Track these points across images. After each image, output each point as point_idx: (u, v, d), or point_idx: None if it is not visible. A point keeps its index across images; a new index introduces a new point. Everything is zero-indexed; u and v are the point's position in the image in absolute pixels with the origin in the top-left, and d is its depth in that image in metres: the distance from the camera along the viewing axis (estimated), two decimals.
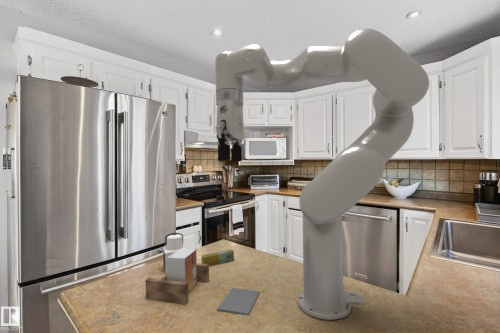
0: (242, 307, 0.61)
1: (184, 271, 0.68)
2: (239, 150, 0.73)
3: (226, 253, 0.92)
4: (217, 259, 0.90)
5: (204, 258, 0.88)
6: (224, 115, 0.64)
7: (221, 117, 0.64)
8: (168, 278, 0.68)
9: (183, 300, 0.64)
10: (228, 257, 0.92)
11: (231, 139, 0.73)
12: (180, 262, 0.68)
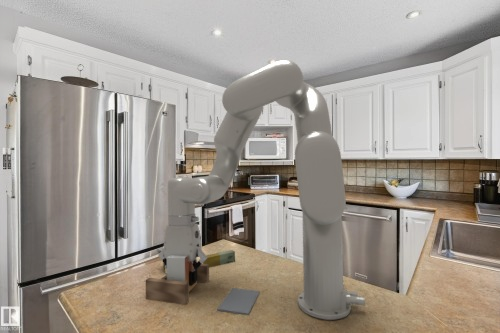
0: (242, 307, 0.61)
1: (184, 271, 0.68)
2: None
3: (227, 254, 0.91)
4: (218, 260, 0.89)
5: None
6: (198, 239, 0.71)
7: (196, 242, 0.70)
8: (168, 278, 0.68)
9: (183, 300, 0.64)
10: (229, 258, 0.91)
11: None
12: (180, 262, 0.68)
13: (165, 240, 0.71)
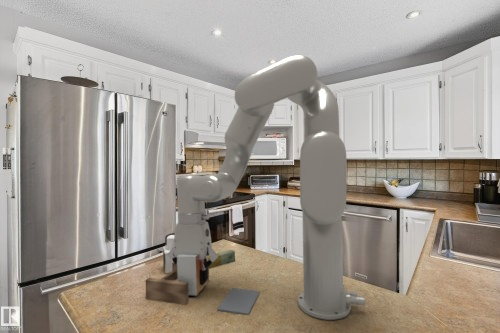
0: (242, 307, 0.61)
1: (195, 270, 0.67)
2: None
3: (227, 254, 0.91)
4: (219, 260, 0.89)
5: None
6: (208, 238, 0.70)
7: (207, 240, 0.69)
8: (179, 277, 0.67)
9: (183, 300, 0.64)
10: (229, 258, 0.91)
11: None
12: (191, 261, 0.67)
13: (175, 239, 0.70)
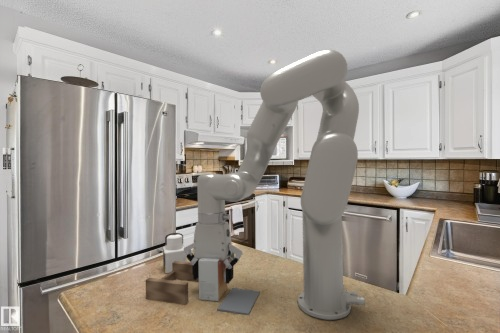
0: (242, 307, 0.61)
1: (217, 275, 0.65)
2: None
3: None
4: None
5: None
6: (229, 238, 0.68)
7: (228, 241, 0.67)
8: (200, 282, 0.66)
9: (183, 300, 0.64)
10: None
11: None
12: (213, 265, 0.65)
13: (195, 239, 0.68)
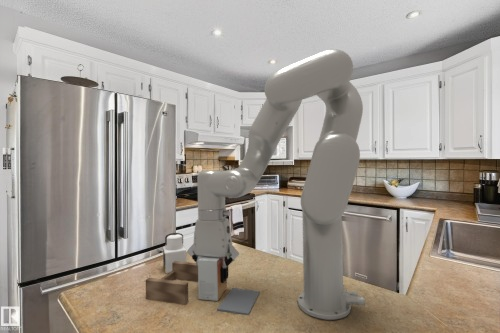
0: (242, 307, 0.61)
1: (216, 274, 0.65)
2: None
3: (228, 253, 0.92)
4: None
5: None
6: (229, 235, 0.68)
7: (228, 237, 0.67)
8: (199, 281, 0.66)
9: (183, 300, 0.64)
10: None
11: None
12: (212, 265, 0.65)
13: (195, 235, 0.68)
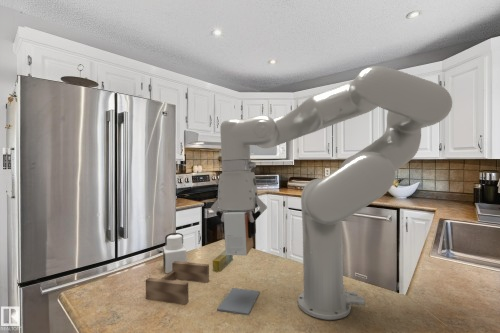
0: (242, 307, 0.61)
1: (244, 227, 0.61)
2: None
3: None
4: (225, 260, 0.88)
5: (219, 262, 0.84)
6: (255, 187, 0.64)
7: (255, 190, 0.63)
8: (226, 236, 0.62)
9: (183, 300, 0.64)
10: (230, 256, 0.93)
11: None
12: (239, 218, 0.61)
13: (220, 189, 0.64)
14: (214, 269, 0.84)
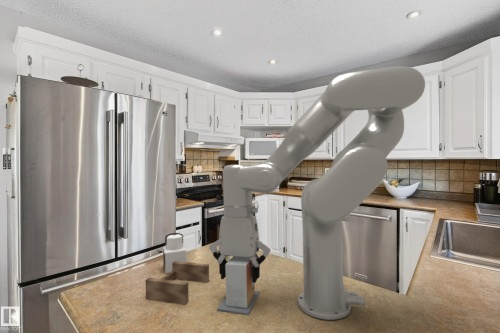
0: None
1: (245, 280, 0.61)
2: None
3: None
4: None
5: (227, 261, 0.84)
6: (257, 233, 0.64)
7: (256, 236, 0.63)
8: (227, 287, 0.62)
9: (183, 300, 0.64)
10: (229, 256, 0.93)
11: None
12: (241, 270, 0.61)
13: (221, 234, 0.64)
14: None
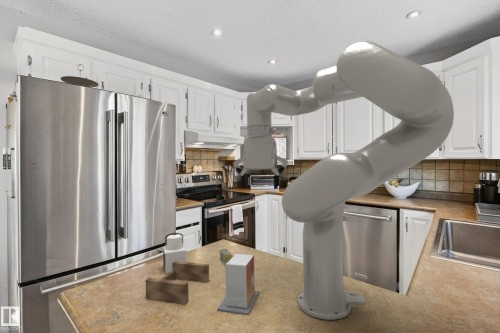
0: None
1: (245, 280, 0.61)
2: (247, 178, 0.79)
3: (228, 252, 0.93)
4: None
5: None
6: (275, 150, 0.76)
7: (275, 152, 0.75)
8: (227, 287, 0.62)
9: (183, 300, 0.64)
10: None
11: None
12: (241, 270, 0.61)
13: (245, 151, 0.76)
14: None
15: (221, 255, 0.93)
